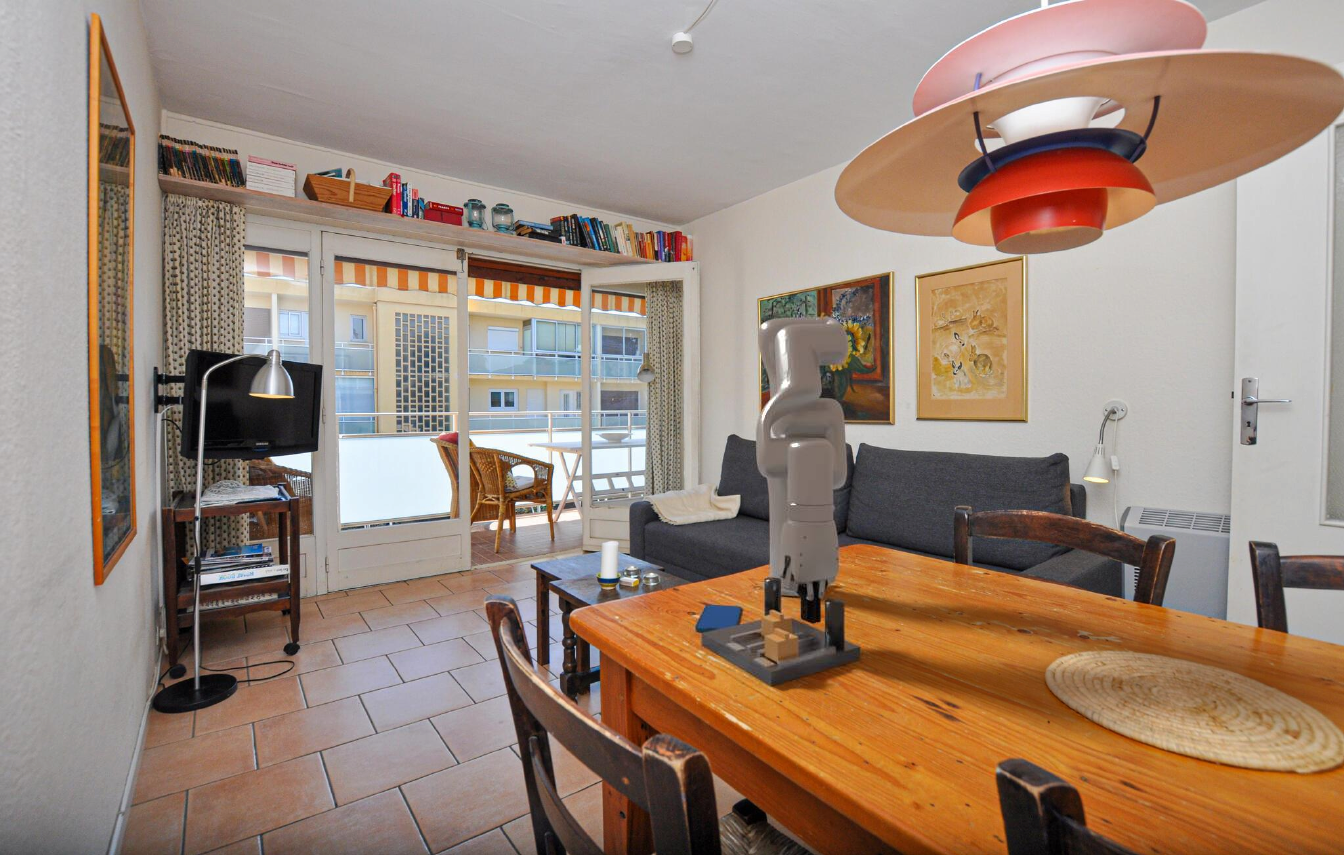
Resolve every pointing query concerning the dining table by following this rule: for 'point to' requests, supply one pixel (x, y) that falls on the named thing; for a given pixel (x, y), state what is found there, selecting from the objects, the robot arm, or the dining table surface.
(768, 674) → the grey slotted fixture
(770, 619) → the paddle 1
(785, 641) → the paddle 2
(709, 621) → the smartphone
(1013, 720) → the dining table surface
